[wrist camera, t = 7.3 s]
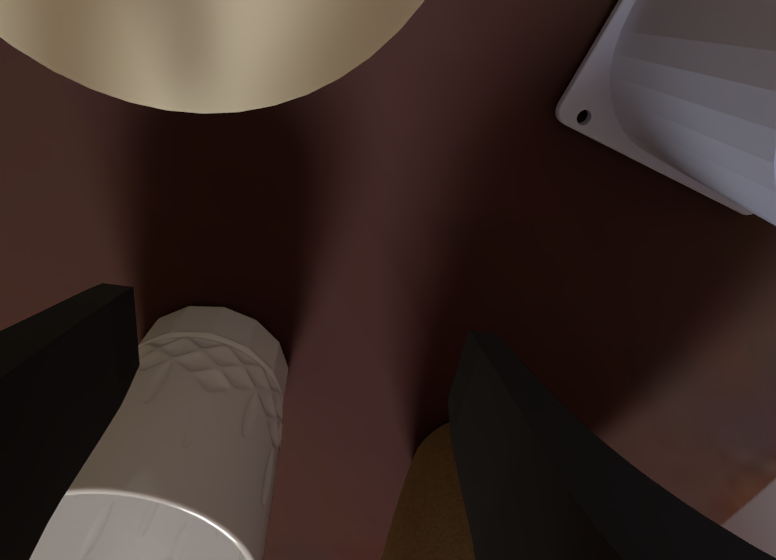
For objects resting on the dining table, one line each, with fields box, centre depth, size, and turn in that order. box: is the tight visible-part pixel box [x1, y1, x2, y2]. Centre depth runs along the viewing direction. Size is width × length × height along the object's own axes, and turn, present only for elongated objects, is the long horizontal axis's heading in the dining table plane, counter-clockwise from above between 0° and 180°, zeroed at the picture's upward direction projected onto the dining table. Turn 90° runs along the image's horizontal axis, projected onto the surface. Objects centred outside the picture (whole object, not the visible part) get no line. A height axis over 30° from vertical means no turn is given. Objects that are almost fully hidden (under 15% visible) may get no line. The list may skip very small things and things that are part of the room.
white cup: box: [29, 306, 288, 560], centre depth 19 cm, size 8×8×10 cm
